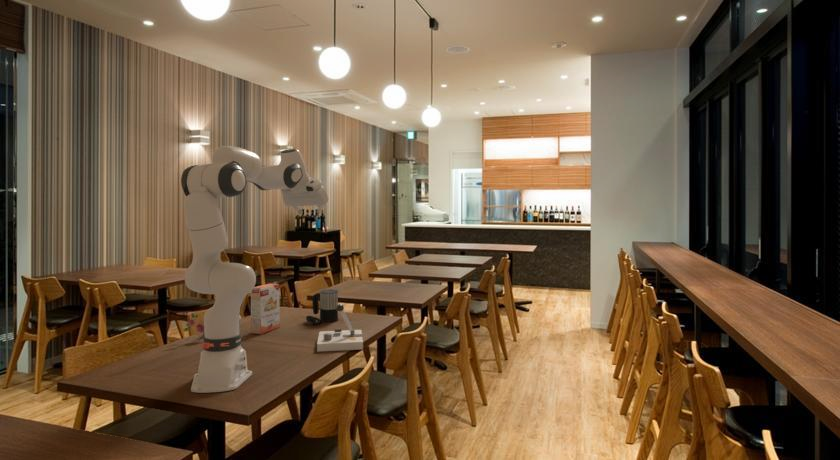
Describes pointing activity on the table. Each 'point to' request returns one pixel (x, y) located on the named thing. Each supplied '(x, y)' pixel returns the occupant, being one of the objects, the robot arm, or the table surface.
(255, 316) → the cracker box
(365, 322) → the table surface
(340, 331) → the rocker switch
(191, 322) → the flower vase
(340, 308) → the toggle lever
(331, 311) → the milk frother
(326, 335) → the push button
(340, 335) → the switch panel
